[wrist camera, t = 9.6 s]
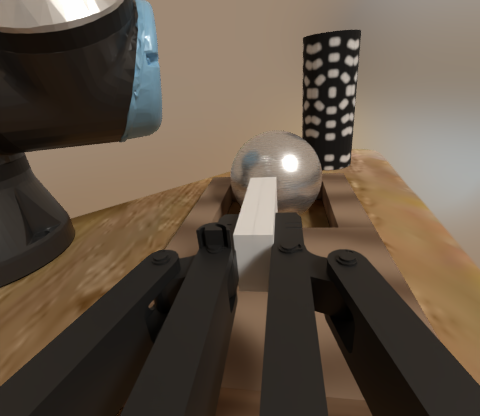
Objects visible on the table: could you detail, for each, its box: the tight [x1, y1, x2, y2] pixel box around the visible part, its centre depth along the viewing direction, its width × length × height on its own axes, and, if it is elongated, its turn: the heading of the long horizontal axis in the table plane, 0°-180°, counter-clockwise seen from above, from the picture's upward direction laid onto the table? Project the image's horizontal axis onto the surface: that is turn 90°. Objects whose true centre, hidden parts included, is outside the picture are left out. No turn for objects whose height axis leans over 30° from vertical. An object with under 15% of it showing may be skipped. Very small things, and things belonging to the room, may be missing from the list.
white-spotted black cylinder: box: [302, 30, 361, 170], centre depth 47 cm, size 8×8×20 cm
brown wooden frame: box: [121, 173, 439, 416], centre depth 27 cm, size 30×18×2 cm, turn 172°
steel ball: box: [231, 131, 322, 216], centre depth 31 cm, size 10×10×10 cm
